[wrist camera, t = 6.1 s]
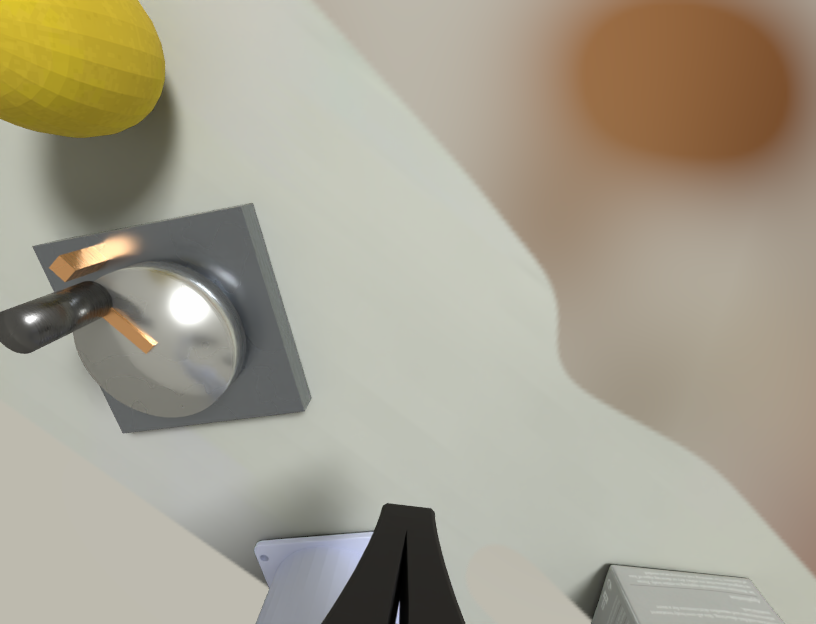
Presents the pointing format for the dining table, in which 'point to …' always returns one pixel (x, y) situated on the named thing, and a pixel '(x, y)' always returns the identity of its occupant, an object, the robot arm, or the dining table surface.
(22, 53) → the lemon
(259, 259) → the dial plate
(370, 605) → the robot arm
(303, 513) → the dining table surface
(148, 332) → the dial
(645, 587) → the skincare box
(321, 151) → the dining table surface
